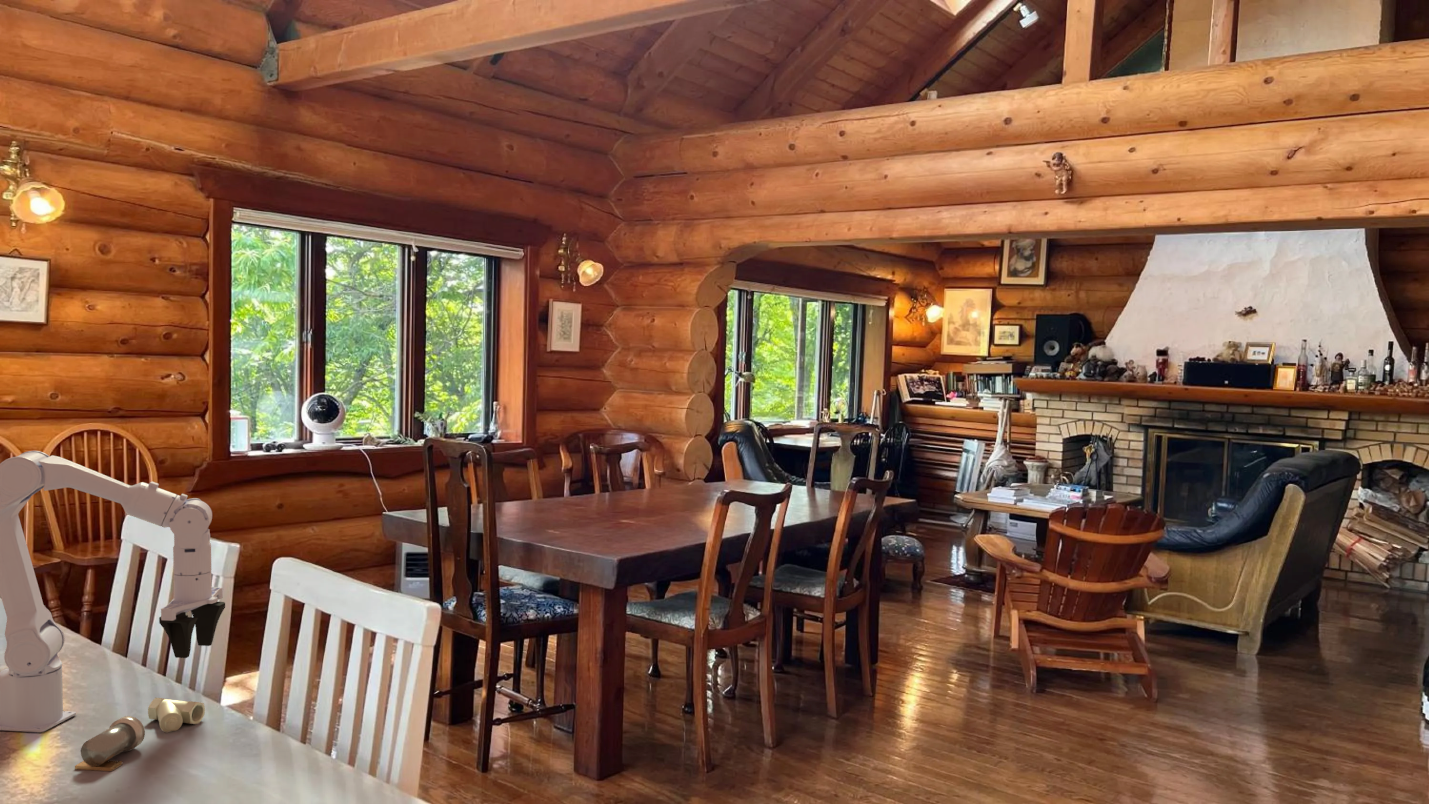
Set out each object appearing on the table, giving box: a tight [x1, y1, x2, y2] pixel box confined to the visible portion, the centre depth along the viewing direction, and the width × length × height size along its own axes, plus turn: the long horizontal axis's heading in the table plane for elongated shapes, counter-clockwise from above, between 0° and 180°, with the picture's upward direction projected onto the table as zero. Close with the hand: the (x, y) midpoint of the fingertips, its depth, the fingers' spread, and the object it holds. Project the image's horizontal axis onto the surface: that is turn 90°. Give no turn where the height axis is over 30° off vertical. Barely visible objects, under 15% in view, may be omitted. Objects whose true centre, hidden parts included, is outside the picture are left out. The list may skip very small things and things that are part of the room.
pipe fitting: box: [147, 697, 206, 733], centre depth 167 cm, size 8×4×7 cm
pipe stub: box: [74, 715, 146, 772], centre depth 153 cm, size 8×6×5 cm
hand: (193, 651), depth 174 cm, fingers open, 6 cm apart
